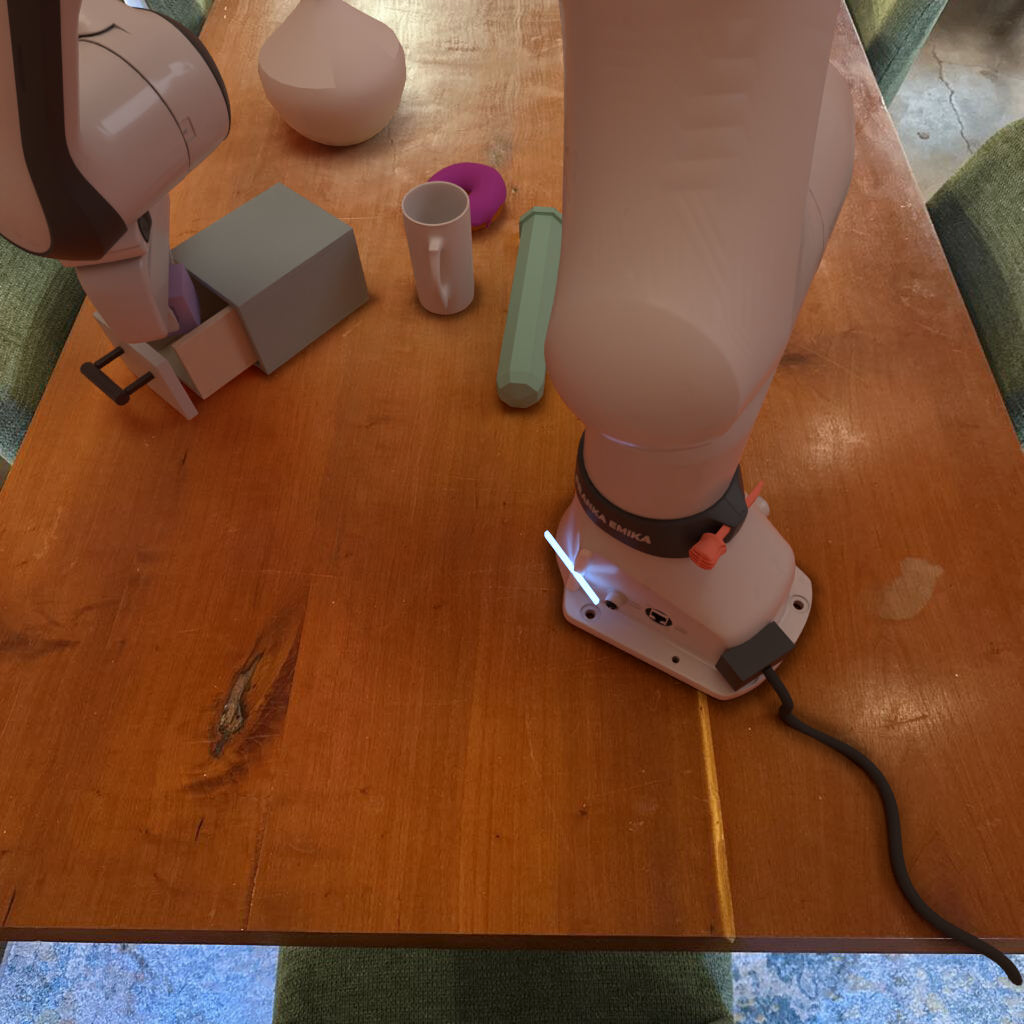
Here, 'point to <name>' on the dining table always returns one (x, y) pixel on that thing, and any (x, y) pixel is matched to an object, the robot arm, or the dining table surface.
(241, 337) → the drawer
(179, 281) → the mauve cube
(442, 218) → the mug
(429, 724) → the dining table surface
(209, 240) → the cabinet
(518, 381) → the container
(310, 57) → the vase
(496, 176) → the donut
